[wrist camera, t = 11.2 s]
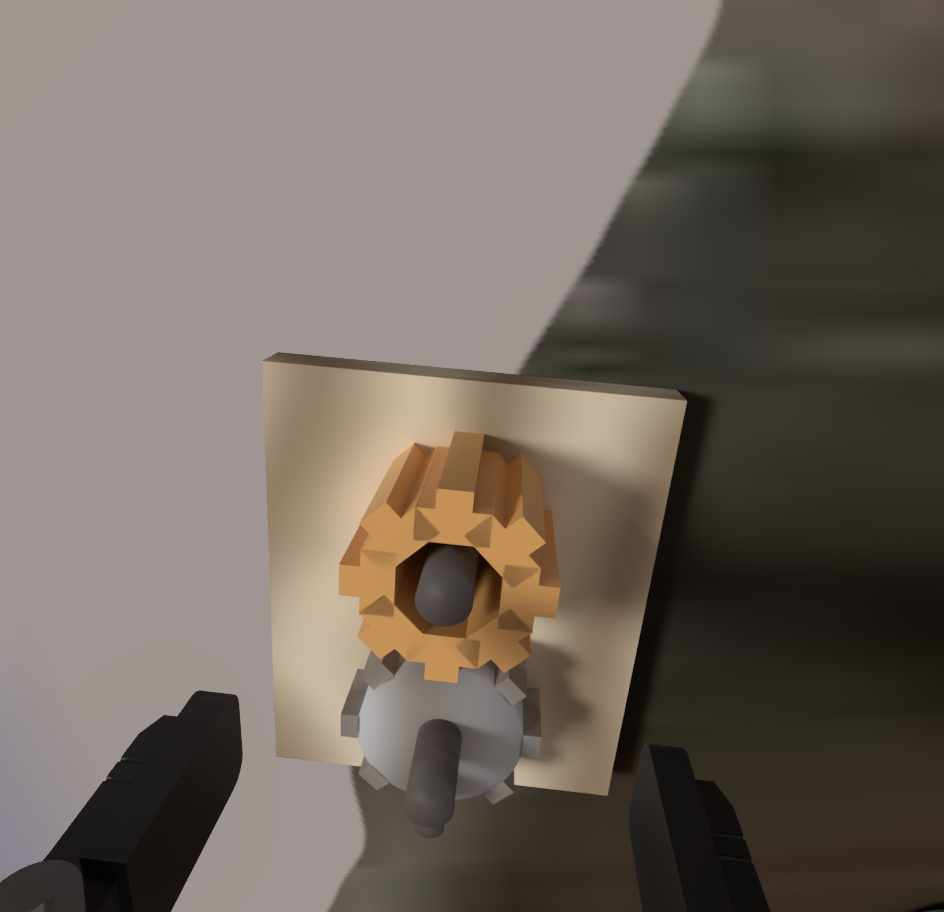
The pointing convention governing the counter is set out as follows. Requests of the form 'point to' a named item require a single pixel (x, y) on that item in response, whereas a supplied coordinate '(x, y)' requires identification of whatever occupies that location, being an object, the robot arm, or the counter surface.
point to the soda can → (935, 910)
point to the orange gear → (460, 523)
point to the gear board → (576, 488)
